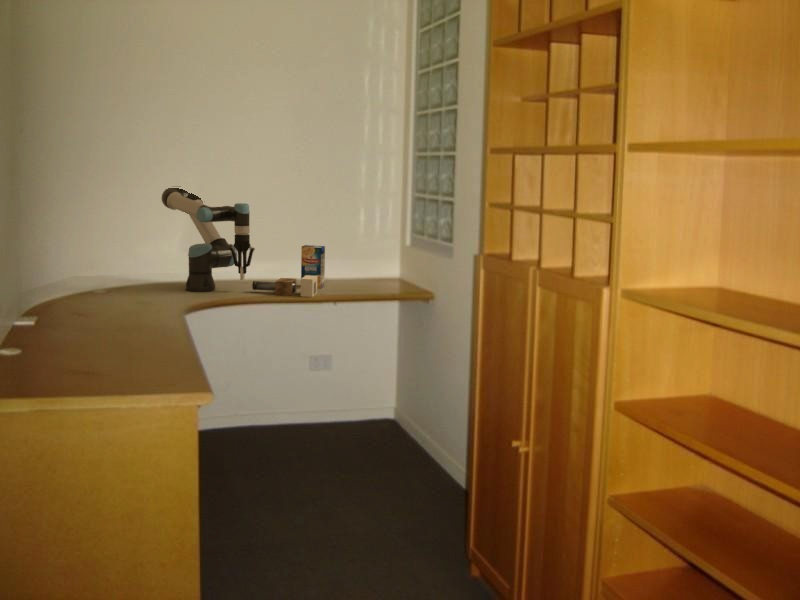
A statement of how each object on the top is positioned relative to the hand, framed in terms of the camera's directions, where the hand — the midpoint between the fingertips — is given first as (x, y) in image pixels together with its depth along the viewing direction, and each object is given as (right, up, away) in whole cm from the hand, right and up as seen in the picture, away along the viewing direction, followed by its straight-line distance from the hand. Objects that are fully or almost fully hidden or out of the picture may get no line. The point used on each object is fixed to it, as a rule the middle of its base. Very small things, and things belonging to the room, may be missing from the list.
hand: (242, 279), depth 468 cm
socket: (+34, -8, -2) cm, 35 cm away
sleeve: (+22, -7, -1) cm, 24 cm away
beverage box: (+34, -4, +22) cm, 40 cm away
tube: (+16, -6, -1) cm, 17 cm away
